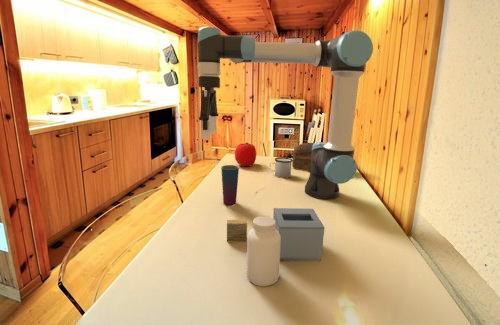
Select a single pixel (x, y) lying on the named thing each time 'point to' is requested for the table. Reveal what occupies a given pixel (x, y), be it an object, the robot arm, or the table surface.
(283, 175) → the mug
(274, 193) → the table surface
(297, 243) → the grey hollow box
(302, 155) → the bread
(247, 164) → the tomato
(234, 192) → the cup
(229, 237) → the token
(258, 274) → the pill bottle
